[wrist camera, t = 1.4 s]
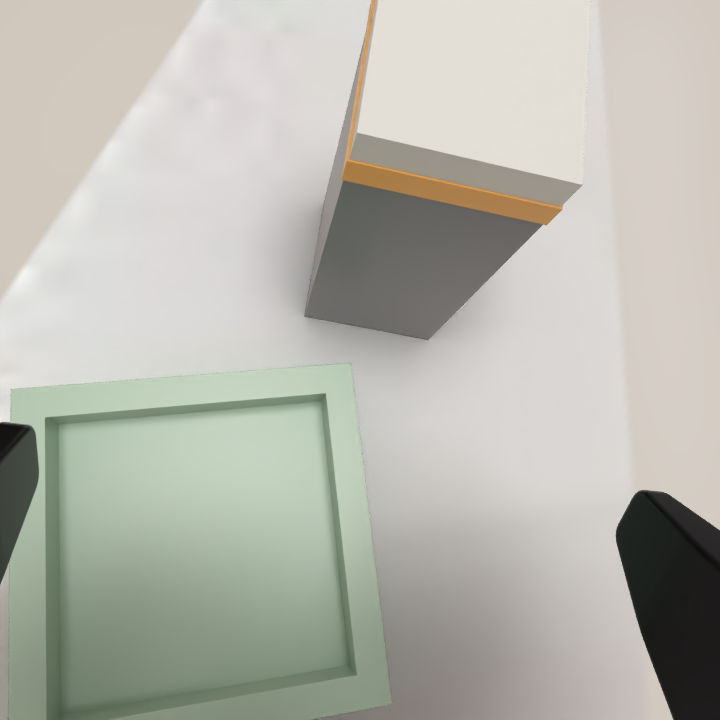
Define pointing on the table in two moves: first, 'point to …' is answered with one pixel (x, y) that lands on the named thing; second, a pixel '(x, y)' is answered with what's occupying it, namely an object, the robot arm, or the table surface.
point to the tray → (196, 552)
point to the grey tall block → (448, 155)
